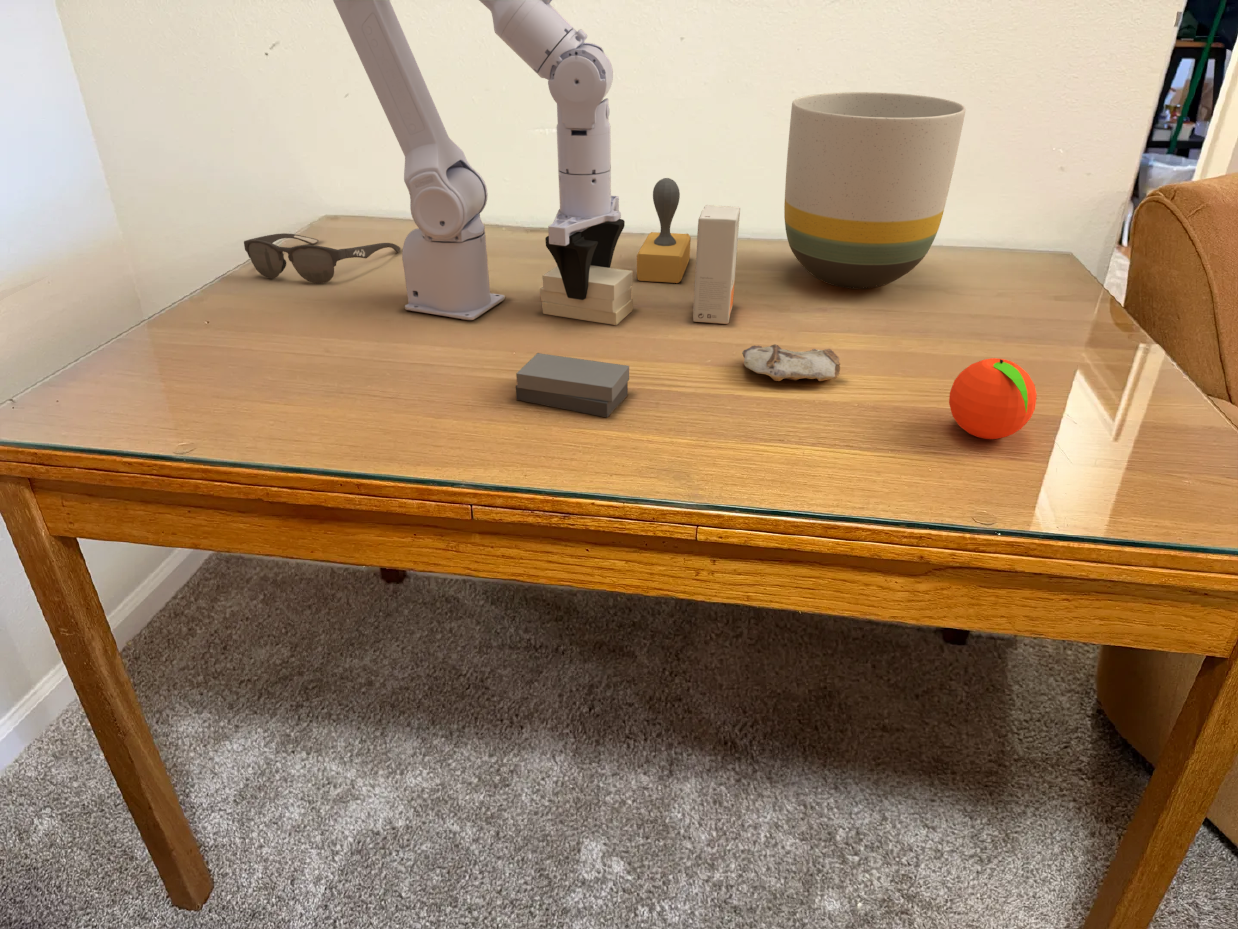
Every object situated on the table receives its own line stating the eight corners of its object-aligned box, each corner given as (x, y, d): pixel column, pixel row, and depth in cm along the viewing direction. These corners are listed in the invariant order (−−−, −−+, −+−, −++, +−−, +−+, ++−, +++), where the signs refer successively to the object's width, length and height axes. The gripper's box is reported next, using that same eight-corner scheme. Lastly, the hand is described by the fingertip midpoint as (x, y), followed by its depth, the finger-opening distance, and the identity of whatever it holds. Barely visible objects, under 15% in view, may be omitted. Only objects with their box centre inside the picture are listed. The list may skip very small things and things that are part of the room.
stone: (742, 388, 83) (744, 363, 81) (740, 357, 89) (742, 333, 88) (841, 392, 82) (845, 367, 81) (833, 360, 88) (836, 337, 87)
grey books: (514, 401, 81) (512, 372, 79) (541, 377, 85) (540, 350, 83) (609, 420, 77) (609, 390, 76) (632, 394, 82) (632, 366, 80)
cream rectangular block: (542, 290, 98) (542, 275, 97) (563, 275, 102) (563, 261, 102) (614, 300, 95) (614, 285, 94) (632, 285, 99) (632, 270, 99)
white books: (539, 314, 100) (537, 289, 98) (559, 299, 104) (558, 275, 103) (615, 326, 97) (615, 301, 95) (633, 310, 101) (633, 285, 99)
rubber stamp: (680, 283, 109) (684, 188, 103) (636, 280, 110) (637, 186, 104) (690, 260, 117) (693, 170, 111) (648, 257, 118) (650, 168, 112)
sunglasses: (233, 276, 111) (227, 238, 109) (311, 253, 126) (306, 219, 124) (343, 288, 107) (339, 248, 105) (410, 263, 122) (407, 228, 120)
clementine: (1050, 455, 72) (1073, 379, 68) (976, 464, 70) (996, 387, 67) (995, 412, 78) (1014, 340, 75) (927, 419, 77) (942, 347, 73)
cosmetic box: (729, 325, 97) (736, 220, 90) (692, 322, 97) (696, 217, 91) (733, 306, 102) (741, 205, 96) (698, 304, 103) (703, 203, 96)
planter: (866, 320, 98) (897, 124, 87) (744, 277, 111) (757, 102, 100) (961, 284, 108) (1000, 105, 97) (839, 249, 121) (861, 87, 110)
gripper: (590, 187, 85) (593, 315, 92) (643, 159, 96) (642, 274, 103) (528, 181, 87) (535, 306, 94) (586, 154, 99) (589, 268, 106)
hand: (587, 289), depth 99 cm, fingers closed on cream rectangular block, 5 cm apart
